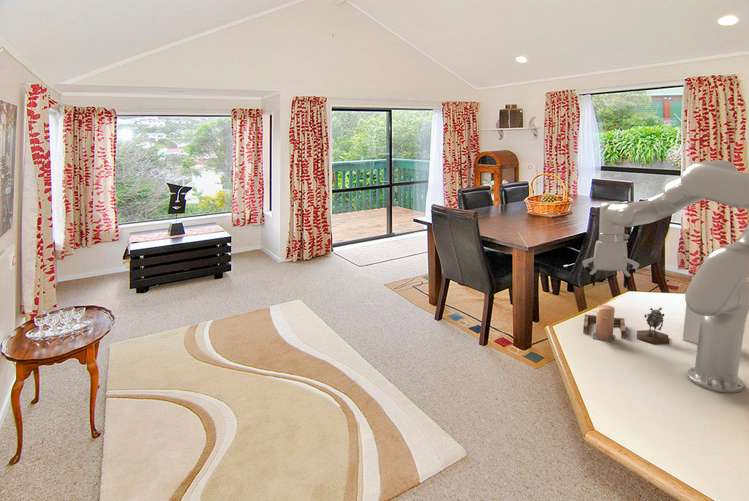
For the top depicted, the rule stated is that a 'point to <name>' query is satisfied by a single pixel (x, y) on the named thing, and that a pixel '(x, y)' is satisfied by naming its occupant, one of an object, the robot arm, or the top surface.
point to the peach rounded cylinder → (605, 322)
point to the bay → (592, 319)
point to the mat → (601, 339)
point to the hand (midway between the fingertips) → (609, 285)
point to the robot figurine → (651, 335)
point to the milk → (691, 325)
